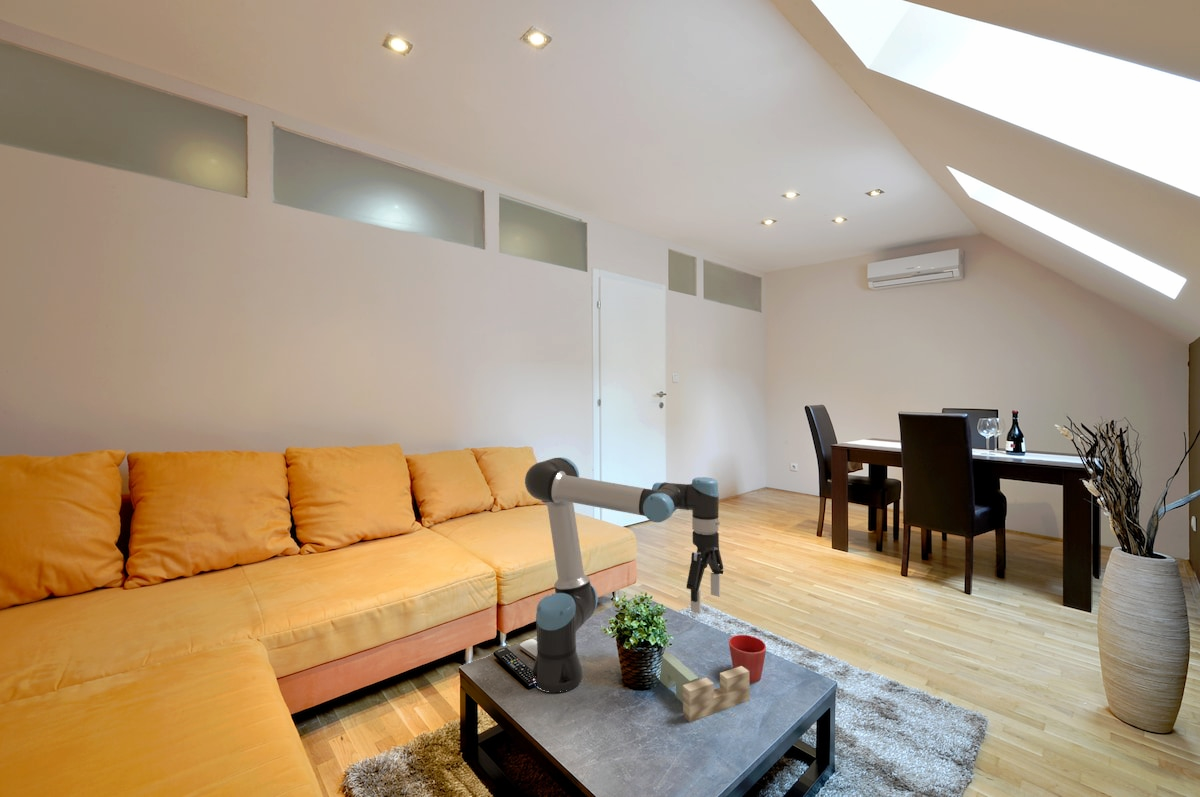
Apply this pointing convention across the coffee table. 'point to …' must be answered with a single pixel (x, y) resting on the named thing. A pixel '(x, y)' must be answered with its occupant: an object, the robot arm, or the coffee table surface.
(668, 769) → the coffee table surface
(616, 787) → the coffee table surface
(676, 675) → the cross piece
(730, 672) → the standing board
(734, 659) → the flower pot
